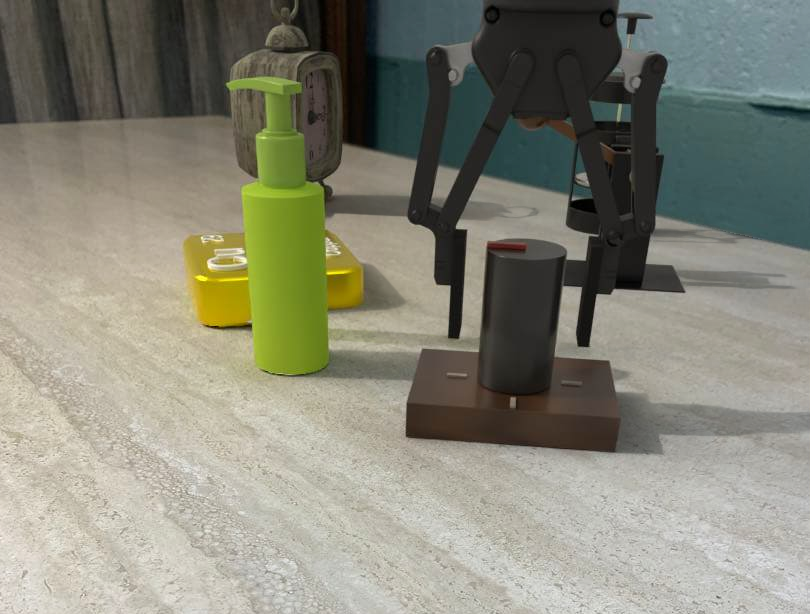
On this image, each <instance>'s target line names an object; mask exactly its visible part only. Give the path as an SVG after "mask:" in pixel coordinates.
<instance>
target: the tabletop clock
mask: <svg viewBox="0 0 810 614" xmlns="http://www.w3.org/2000/svg"><path fill="white" fill-rule="evenodd" d="M275 2H276V0H270V8H271V12H272V15H273V16H274V18H275V19H276V20H277V21H278V22H280V23H281V24H280V25H277V26H274V27H273V28H271V29H270V31H269V32H268V35H267V37H266V40H265V46H266V47H273V48H274V49H273V48H263V49H260V50H257V51H253V52H251V53H248V54H247V55H246V56H244V57H242V58H241V59H239V60H238V61H236V62H235V63H234V64H233V65H232V66H231V68H230V75H229V76H230V77H229V82H231V81H235V80H239V79H247V78H256V77H277V78H282V79H287V80H291V81H295V82H299V83H301V84H302V93H295V94H290V101H291V122H292V128H295V129H297V132H299V133H302V134H303V135H304V140H305V164H306V181H308V182H312V183H317V184H318V185H321V186H322V187H323V188H324V199H326V198H328V199H329V198H330V197H332V196H333V194H334V193H333V192H334V190H333V187H332V186H331V185H330V184H325V182H324V180H326V179H327V178H329V177H330V176H331V175H333V174H335V172H336V171H337V170H338V169H339V168H340V165H341V164H342V155H343V139H344V104H343V103H344V102H343V101H344V100H343V82H342V71H341V64H340V63H341V62H340V58H339V57H338V56H337V55H336V54H335V53H334V52H331V51H314V50H313V51H312V50H311V51H310V50H297V49H296V50H292V48H305V47H309V42H308V39H307V37H306V35H305V33H304V32H303V30H302V29H301V28H300V27H297V26H295V25H292V24H291V22H292V21H293V20H294V19H295V18H296V16H297V14H298V11H299V0H294V7H293V10H292V12H291V11H290V9H289V7H282V8H281V9H280V13H279V12H278V11H277V9H276V4H275ZM275 48H283V49H275ZM229 93H230V94H229V95H230V111H231V125H232V133H233V143H234V152H235V157H236V162H237V165H238V167H239V168H240V169H241V170H242V171H244V172H245V173H246V174H247V175H248V176H250V177H252V178H254V179H258V167H257V152H256V134H258V133H260V132H262V129H264V128H267V117H266V101H265V91H261V90H256V89H249V88H247V89H238V90H229Z"/></svg>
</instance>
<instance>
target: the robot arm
mask: <svg viewBox="0 0 810 614" xmlns="http://www.w3.org/2000/svg"><path fill="white" fill-rule="evenodd" d="M619 7H620V0H482V13H481V21H480V24H479V27H478V29H477V31H476V34H475V35H474V36H473V39H472V41H469V42H462V43H458V44H451V45H445V44H443V43H437V44H435V45H433V46H431V48H430V49H429V50H428V51H427V52H426V55H425V66H426V75H427V82H428V89H429V90H428V91H429V95H428V100H427V106H426V111H425V115H424V116H425V117H424V122H423V128H422V133H421V136H420V137H421V138H420V144H419V147H418V148H419V149H418V154H417V160H416V164H415V170H414V175H413V181H412V186H411V192H410V197H409V202H408V207H407V212H406V213H407V214H406V215H407V220H408V222H409V223H410V224H412V225H414V226H421V227H422V228H423V227H424V228H426V229H428V230H430V231H431V232H432V234H433V236H434V263H433V264H434V265H433V279H434V281H435V285H436V286H449V287H450V288H449V307H448V309H449V310H448V330H447V339H449V340H460V336H461V332H462V331H461V330H462V327H463V326H462V325H463V311H464V295H465V294H464V293H465V292H464V291H465V275H466V259H467V242H468V229H465V228H457V225H458V223H459V221H460V219H461V217H462V215H463V213H464V211H465V209H466V206H467V204H468V202H469V200H470V198H471V196H472V194H473V192H474V190H475V188H476V185H477V183H478V182H479V180H480V177H481V175H482V174H483V171H484V169H485V167H486V165H487V163H488V161H489V158H490V156H491V154H492V153H493V151H494V148H495V146H496V144H497V142H498V140H499V138H500V136H501V134H502V132H503V130H504V128H505V126H506V124H507V122H508V120H509V119H510V117H512V119H515V120H516V119H528V118H532V117H536V116H542V117H545V118H548V119H551V120H561V121H566V122H567V119H570V120H571V125H573V128H574V132H575V135H576V139H577V142H578V151H579V152H580V157H581V160H582V164H583V167H584V172H586V175H587V178H588V182H589V186H590V193H591V196H592V198H593V200H594V204H595V207H596V211H597V214H598V218H599V222H600V225H601V229H602V233H601V236H598V235H588V240H587V247H586V254H585V268H584V276H583V283H582V287H581V291H580V298H579V307H578V315H577V319H576V320H577V322H576V330H575V338H576V347H577V348H590V343H591V337H592V328H593V322H594V316H595V309H596V302H597V295H606V296H611V295H612V293H613V292H614V290H615V289H614V288H615V284H616V278H617V271H618V265H619V258H620V252H621V248H622V246H623V244H624V243H625V242H626V241H628V240H630V239H632V238H636V237H639V236H642V237H646V236H649V235H651V236H652V234H653V233H654V232H655V230H656V224H657V223H656V221H657V220H656V219H657V218H656V217H657V215H656V213H657V212H656V211H657V202H656V146H657V136H656V127H657V102H656V101H657V98H658V95H659V96H660V93H659V92H661V89H662V86H663V84H662V83H663V80H664V79H665V77H666V74H667V71H668V65H669V63H668V60H667V58H666V57H665V55H663V54H662V53H660V52H658V51H656V50H650V51H648V52H645V51H641V50H637V49H633V48H630V49H629V48H627V47H624V46H623V45H622V44H623V43H622V40H621V37H620V35H619V31H618V18H617V16H618V14H619V9H620V8H619ZM472 63H474V64H475V66H476V68H477V69H478V71H479V73H480V74H481V77H482V78H483V80H484V81H485V84H486V85H487V87H488V89H489V90H490V92H491V94H492V96H493V98H492V100H491V102H490V105H489V107H488V109H487V111H486V114H485V115H484V117H483V120H482V123H481V124H480V127H479V129H478V131H477V133H476V134H475V137H474V139H473V142H472V143H471V145H470V148H469V150H468V152H467V154H466V156H465V159H464V161H463V163H462V164H461V167H460V170H459V171H458V174H457V176H456V178H455V179H454V182H453V184H452V186H451V188H450V191H449V193H448V195H447V197H446V199H445V202H444V203H443V205H442V206H440V205H438V204H435V203H433V202H432V200H433V195H434V190H435V184H436V180H437V175H438V169H439V165H440V161H441V155H442V149H443V144H444V139H445V135H446V131H447V130H446V129H447V125H448V120H449V116H450V115H449V114H450V110H451V105H452V99H453V91H454V89H453V88H454V87H456V86H459V85H460V84H461V83H462V82H463V80H464V77H465V72H466V68H467V66H468V65H470V64H472ZM616 68H618V69H620V70H621V72H623V84H624V87H625V88H626V89H627V90H628V91H629V92H631V93H632V97H631V104H630V122H631V213H628V214H625V215H622V216H619V213H618V209H617V205H616V202H615V198H614V194H613V190H612V186H611V183H610V179H609V175H608V171H607V168H606V164H605V160H604V156H603V153H602V149H601V145H600V141H599V137H598V134H597V130H596V126H595V122H594V121H595V117H594V114H593V111H592V107H591V103H590V101H591V100H590V99H591V98H592V96H593V95H594V94H595V93H596V91H597V90H598V89H599V88H600V86H601V85H602V84H603V83H604V81H605V80H606V79H607V78H608V76H609V75H610V74H611V73H612V72H614V71H615V69H616Z"/></svg>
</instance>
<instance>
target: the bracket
mask: <svg viewBox="0 0 810 614" xmlns="http://www.w3.org/2000/svg"><path fill="white" fill-rule="evenodd" d="M611 149H612V150H614V151H615V152H614V159H613V165H612V164H610V163H609V164H608V175H609V179H610V183H611V186H612V190H613V194H614V198H615V202H616V205H617V209H618V213H619V216H622V215H625V214H628V213H631V152H626V151H627V149H629V150H631V145H618V144H611ZM659 151H660V148H659V146H658V145H656V203H657V201H658V195H659V190H660V184H661V177H662V172H663V166H664V162H665V154H664V153H661V152H660V153H659ZM601 233H602V229H601V225H600V228H599V235H597V236H601ZM651 236H652V234H651V235H649V236H646V237H642V236H639V237H636V238H632V239H630V240H628V241H626V242H625V243H624V244H623V246H622V248H621V252H620V258H619V265H618V271H617V278H616V284H615V288H614V290H622V291H623V290H627V291H642V292H657V293H658V292H660V293H662V292H663V293H674V294H675V293H679V294H685V293H686V291H685V289H684V287H683V285H682V283H681V280H680V279H679V276H678V275H677V272H676V270H675V268H674V266H673V264H671V265H670V264H656V263H647V260H648V259H647V258H648V254H649V247H650V242H651ZM585 261H586V259H585V260H581V259H567V258H566V266H565V275H564V283H563V287H571V288H572V287H573V288H582V283H583V276H584V268H585Z"/></svg>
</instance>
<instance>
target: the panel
mask: <svg viewBox="0 0 810 614" xmlns="http://www.w3.org/2000/svg"><path fill="white" fill-rule="evenodd" d="M478 354H479V351H468V350H454V349H439V348H425V347H424V348H422V349H421V351H420V354H419V358H418V361H417V365H416V369H415V372H414V375H413V379H412V382H411V385H410V389H409V392H408V396H407V400H406V403H405V437H409V438H420V439H421V438H422V439H434V440H447V441H449V440H450V441H462V442H475V443H488V444H489V443H490V444H502V445H515V446H516V445H517V446H531V447H544V448H554V449H555V448H557V449H570V450H583V451H595V452H612V453H615V452H616V449H617V445H618V439H619V432H620V429H621V428H620V427H621V421H622V416H621V410H620V406H619V402H618V396H617V392H616V385H615V381H614V376H613V371H612V366H611V362H610V360H608V359H607V360H605V359H594V358H593V359H591V358H578V357H577V358H575V357H561V356H554V364H553V372H552V381H551V385H550V386H549V387H548V388H547V389H545V390H543V391H541V392H537V393H533V394H506V393H501V392H497V391H493V390H490V389H488V388H486V387H484V386H483V385H481V384H480V383H479V382H478V380H477V368H478Z"/></svg>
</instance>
